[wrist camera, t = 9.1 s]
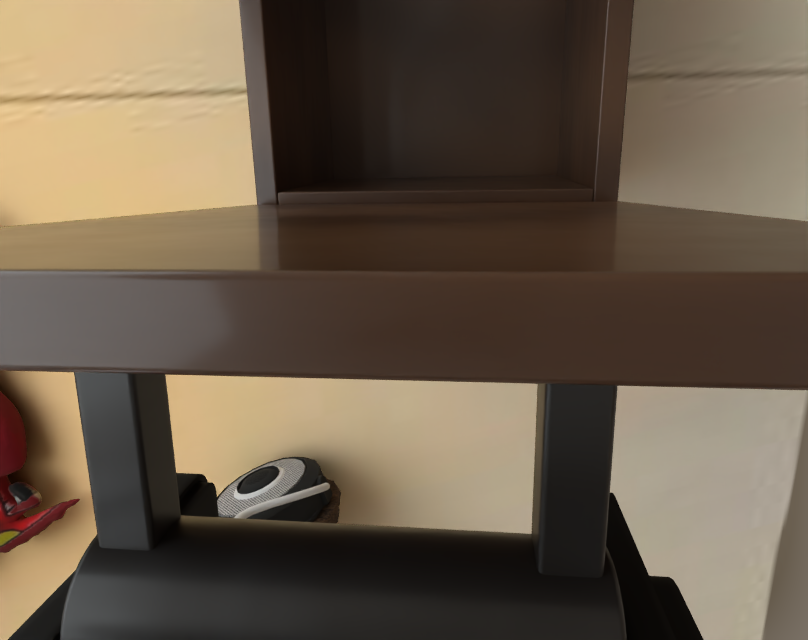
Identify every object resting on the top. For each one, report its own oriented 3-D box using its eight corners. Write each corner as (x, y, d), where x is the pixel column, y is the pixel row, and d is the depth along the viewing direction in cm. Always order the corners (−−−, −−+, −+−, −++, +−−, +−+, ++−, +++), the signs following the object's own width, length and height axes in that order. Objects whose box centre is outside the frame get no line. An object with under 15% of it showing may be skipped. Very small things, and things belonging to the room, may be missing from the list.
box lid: (-479, 268, 5) (-293, 793, 6) (1327, 274, 3) (1092, 959, 5) (252, 204, 21) (262, 351, 22) (621, 201, 19) (610, 358, 20)
